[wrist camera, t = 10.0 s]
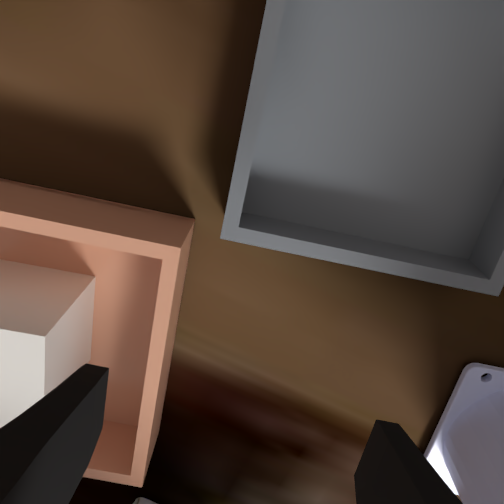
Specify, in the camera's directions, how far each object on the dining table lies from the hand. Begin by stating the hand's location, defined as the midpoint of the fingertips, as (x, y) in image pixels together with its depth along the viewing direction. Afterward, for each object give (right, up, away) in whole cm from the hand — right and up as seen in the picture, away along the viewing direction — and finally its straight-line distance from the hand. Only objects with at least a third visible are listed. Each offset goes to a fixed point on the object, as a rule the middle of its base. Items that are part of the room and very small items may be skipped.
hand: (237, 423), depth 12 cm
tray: (+6, +10, +6) cm, 13 cm away
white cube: (-9, +2, +9) cm, 13 cm away
